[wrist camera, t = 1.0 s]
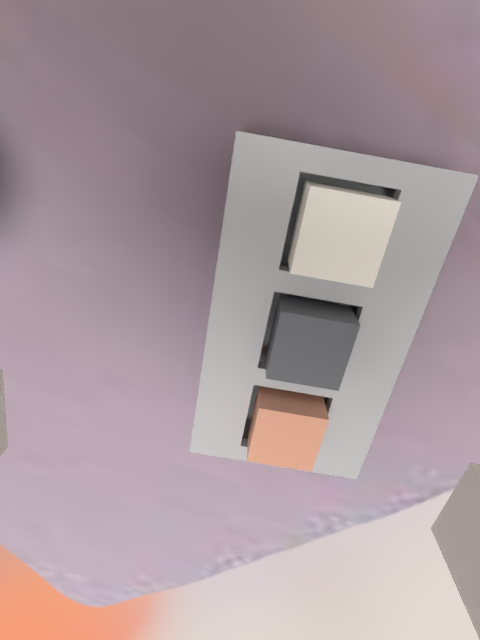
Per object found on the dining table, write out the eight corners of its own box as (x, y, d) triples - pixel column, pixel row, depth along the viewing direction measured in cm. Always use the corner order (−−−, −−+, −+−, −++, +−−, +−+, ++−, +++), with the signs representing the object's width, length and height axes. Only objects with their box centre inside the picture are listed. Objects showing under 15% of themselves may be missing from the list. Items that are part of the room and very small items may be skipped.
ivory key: (304, 180, 24) (310, 185, 21) (385, 195, 24) (401, 202, 21) (287, 259, 26) (290, 273, 23) (361, 272, 26) (372, 288, 23)
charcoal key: (279, 294, 27) (281, 311, 24) (350, 306, 27) (360, 325, 24) (265, 356, 29) (265, 378, 26) (331, 367, 29) (338, 391, 26)
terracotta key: (259, 383, 30) (259, 408, 27) (322, 394, 30) (329, 419, 27) (248, 433, 32) (246, 461, 29) (307, 443, 32) (311, 471, 29)
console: (240, 132, 26) (236, 130, 22) (442, 169, 27) (479, 175, 22) (198, 413, 36) (189, 451, 32) (344, 437, 37) (356, 479, 32)
